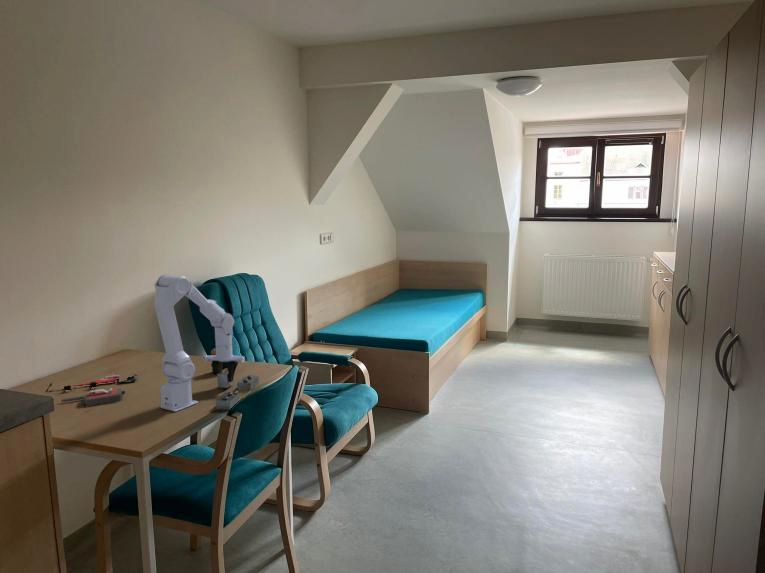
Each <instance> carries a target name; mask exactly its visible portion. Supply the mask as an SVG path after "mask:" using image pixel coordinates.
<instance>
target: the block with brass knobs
mask: <svg viewBox="0 0 765 573" xmlns="http://www.w3.org/2000/svg"><path fill="white" fill-rule="evenodd" d="M217 376H218V378H217V387H218V388H226V389H227V388H229V387H230V386H231V385H232V384H234V382H235V380H234V379H235V377H234V378H233V381H232V382H229V373H228V368H226V369H224V370H222V371H221V372H220V373H218V374H217V375H216V377H217Z"/></svg>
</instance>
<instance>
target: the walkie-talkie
mask: <svg viewBox="0 0 765 573" xmlns="http://www.w3.org/2000/svg"><path fill="white" fill-rule="evenodd" d="M125 394H126V391H125V390H122V388H118V389H113V387H112V388H111V387H110V388H109V390H106V389H103V388H100V389H98V388H97V389H92V390H91V389H90V390H89V392H88V393H86V394H85V395H82V396H74V397H67V398H62V399H60V400H61V401H60V402H61V403H65V402H73V401H79V400H80V401H81V400H82V405H83V406H85V407H92V405H93V406H97V405H98V404H100V405H104V404H103V403H105V404H111V403H110V402H112V403H117V402H116V401H118V402H122V401H123V395H125ZM121 400H122V401H121Z"/></svg>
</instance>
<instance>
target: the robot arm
mask: <svg viewBox="0 0 765 573" xmlns="http://www.w3.org/2000/svg"><path fill="white" fill-rule="evenodd" d="M193 284H194V283H193V281H191V280H189V279H188V277H186V276H183V275H180V276H179V275H170V274H162V275H160V276H159V277H158V278H157V280H156V281H155V283H154V284H153V285H154V289H155V290H154V291H155V294H154V295H155V296H154V301H153V302H154V303H153V304H154V309H155V314H156V317H157V321H158V325H159V329H160V334H161V337H162V342H163V346H164V350H165V355H164V356H163V357H162V358H161V361H162V367H161V370H162V374H163V375H164V376H165V377H166V380H167V381H166V382H165V383H164V384H162V385H161V386H160V389H159V390H160V392H159V393H160V402H161V403H160V404H161V405H160V408H161V409H163V410H168V411H172V412H178V411H181V410H184V409H187V408H188V407H191V406H194V405H196V404H198V403H199V401H198V400H193V392H192V379H193V377H194V375H195V372H196V367H195V364H194V363H193V362H192V361H191V357H190V356H189V355H188V354H187V353H186V351H184V350H185V349H184V347H183V343H182V342H183V341H182V338H181V333H180V329H179V326H178V325H179V323H178V321H177V317H176V312H175V308H174V306H175V305H176V304H177V303H178V302H180V300H181V299H182V298H184V297H187V299H189V300H190V301H192V302H193V303H194V304H195V305H197V306H198V307H199V312H200V313H201V314H202V315H203V316H204V317H206V319H208V320H209V321H210V324H211V327H214V340H215V348H216V355H211V354H210V355H205V356H204V362H205V363H208V362H211V364H210V365H211V366H210V367H211V368H213V369H214V371H215V373H216V374H215V375H216V377H217V379H218V376H217V374H218V373H220V372H221V371H222V366H223V362H229V363H228V364H227V368H228V373H229V382H232V381H233V378H234V379H235V377H234V376H235V372H236V369H237V367H238V365H239V363H240V364H243V363H244V362H245V361H246V358H245V356H243V355H235V354H233V338H232V337H233V336H232V332H233V327H234V325H235V319H234V317H233V315H232V314H231V313H229V312H226V311H225V309H224V308H223V307H220V305H218V302H217V300H214V299H208V298H206V297H205V296H204V295H203V294H202V293H201V292H200V290H198V288H196V286H195V285H193Z"/></svg>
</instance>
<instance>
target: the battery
mask: <svg viewBox="0 0 765 573" xmlns="http://www.w3.org/2000/svg"><path fill="white" fill-rule="evenodd" d="M210 350H211V351H210V355H216V347H215V348H213V349H210ZM228 363H229V362H223V366H222V370H224V369H226V368H227V364H228ZM211 368H212V367H211ZM211 372H212V374H213V375H216V373H215V371H214V369H213V368H212V371H211Z"/></svg>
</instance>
